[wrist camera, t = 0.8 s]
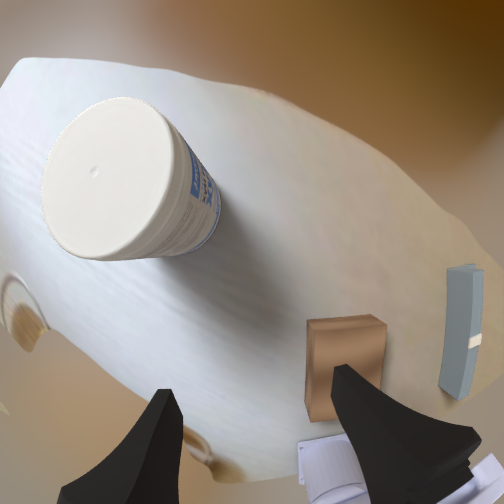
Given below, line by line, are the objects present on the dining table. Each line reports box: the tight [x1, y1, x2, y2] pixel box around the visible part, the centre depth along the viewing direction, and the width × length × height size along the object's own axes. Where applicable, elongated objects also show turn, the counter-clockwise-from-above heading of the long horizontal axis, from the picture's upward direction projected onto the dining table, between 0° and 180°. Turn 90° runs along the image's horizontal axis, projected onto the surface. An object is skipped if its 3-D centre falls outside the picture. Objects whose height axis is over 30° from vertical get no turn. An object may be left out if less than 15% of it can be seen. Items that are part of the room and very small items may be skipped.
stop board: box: [438, 264, 484, 401], centre depth 23 cm, size 16×5×5 cm, turn 7°
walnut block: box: [304, 314, 387, 422], centre depth 25 cm, size 10×7×4 cm
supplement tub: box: [41, 97, 221, 261], centre depth 19 cm, size 10×10×15 cm
